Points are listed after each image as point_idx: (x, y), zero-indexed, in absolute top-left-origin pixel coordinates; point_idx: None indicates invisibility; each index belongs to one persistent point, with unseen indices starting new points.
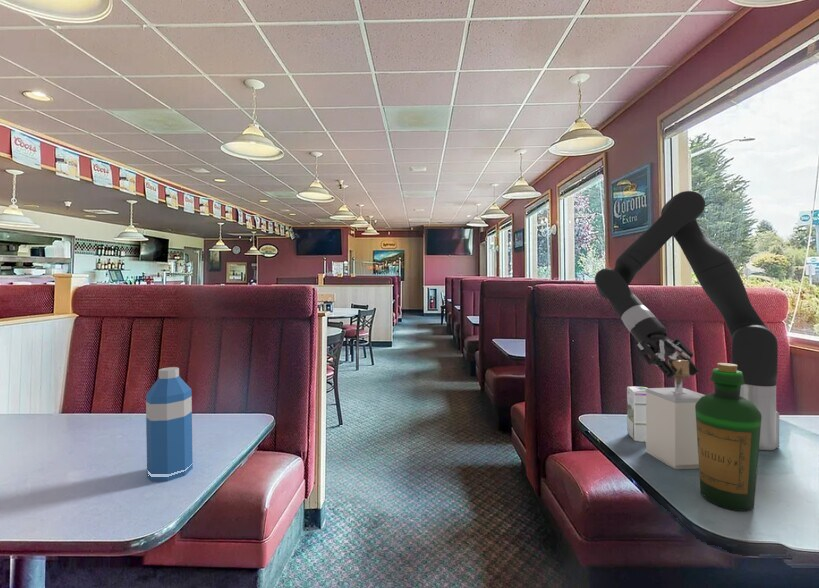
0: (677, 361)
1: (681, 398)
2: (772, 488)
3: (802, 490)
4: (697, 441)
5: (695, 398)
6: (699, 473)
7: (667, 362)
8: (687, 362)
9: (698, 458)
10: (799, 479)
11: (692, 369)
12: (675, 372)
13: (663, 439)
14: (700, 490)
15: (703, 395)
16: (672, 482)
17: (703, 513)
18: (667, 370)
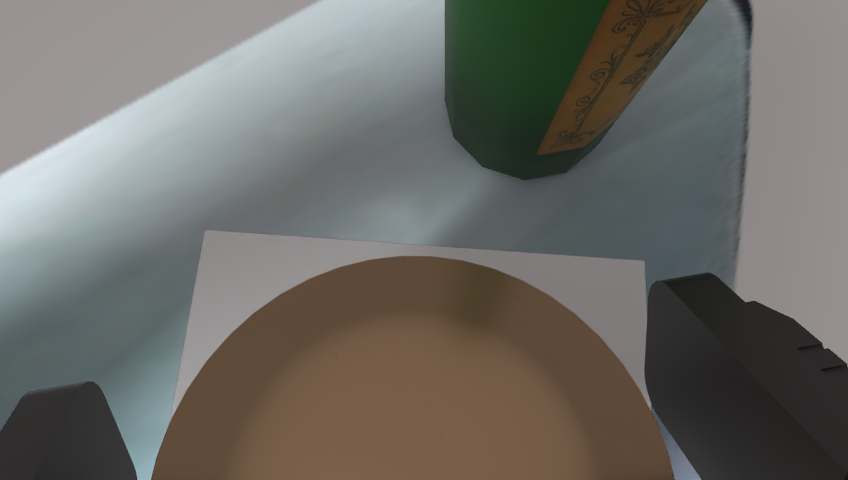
0: (575, 370)
1: (563, 267)
2: (251, 151)
3: (150, 120)
4: (693, 18)
5: (415, 245)
6: (626, 106)
7: (817, 446)
8: (367, 266)
9: (652, 71)
10: (44, 190)
11: (88, 475)
12: (668, 281)
13: None
14: (600, 140)
15: (222, 328)
16: (625, 258)
17: (673, 63)
18: (806, 339)
